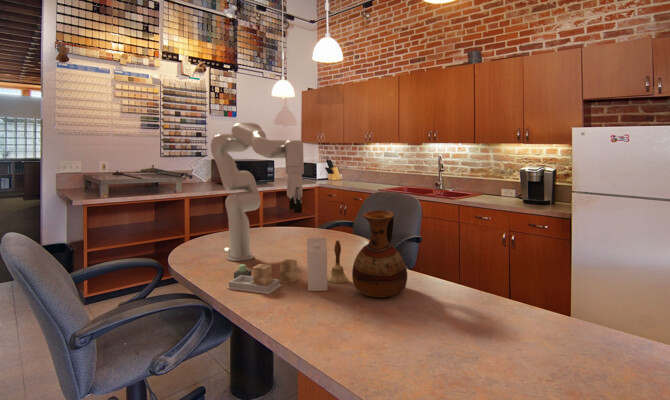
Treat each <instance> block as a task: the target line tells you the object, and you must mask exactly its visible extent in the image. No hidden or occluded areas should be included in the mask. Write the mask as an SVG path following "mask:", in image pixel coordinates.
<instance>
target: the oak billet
mask: <svg viewBox="0 0 670 400" xmlns="http://www.w3.org/2000/svg"><path fill="white" fill-rule="evenodd" d="M296 281H298V260H297V259H289V258H286V259H283V260H281V261H280V262H279V283H284V284H294V283H295V282H296Z"/></svg>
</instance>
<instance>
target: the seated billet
mask: <svg viewBox="0 0 670 400" xmlns="http://www.w3.org/2000/svg"><path fill="white" fill-rule="evenodd" d="M272 268H273V267H272V264H267V263H259V264H256V265H255V266H253V267H252V276H253V284H256V285H264V286H268V285H269V284H271V283H272V279H273V271H272V270H273V269H272Z"/></svg>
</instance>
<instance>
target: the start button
mask: <svg viewBox="0 0 670 400" xmlns="http://www.w3.org/2000/svg"><path fill="white" fill-rule="evenodd" d="M238 270H239V273H245V272H246V270H247V264H245V263H244V264H243V263H242V264H238Z"/></svg>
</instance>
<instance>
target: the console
mask: <svg viewBox="0 0 670 400" xmlns="http://www.w3.org/2000/svg"><path fill="white" fill-rule="evenodd" d="M241 275H244V276H253V273H252V270H251V269H246V272H245V273H239V269H238V270H236V271H234V272H233V279H235V278H237V277H239V276H241Z"/></svg>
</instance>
